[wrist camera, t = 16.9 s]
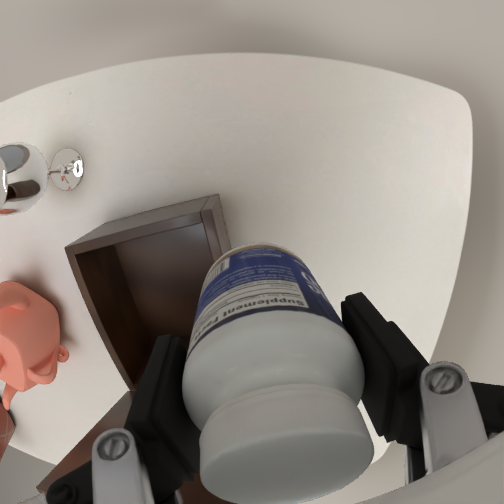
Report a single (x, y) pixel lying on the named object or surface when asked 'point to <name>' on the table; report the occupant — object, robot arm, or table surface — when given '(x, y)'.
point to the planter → (5, 429)
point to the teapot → (27, 340)
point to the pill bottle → (273, 383)
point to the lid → (193, 493)
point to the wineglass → (33, 175)
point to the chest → (148, 276)
